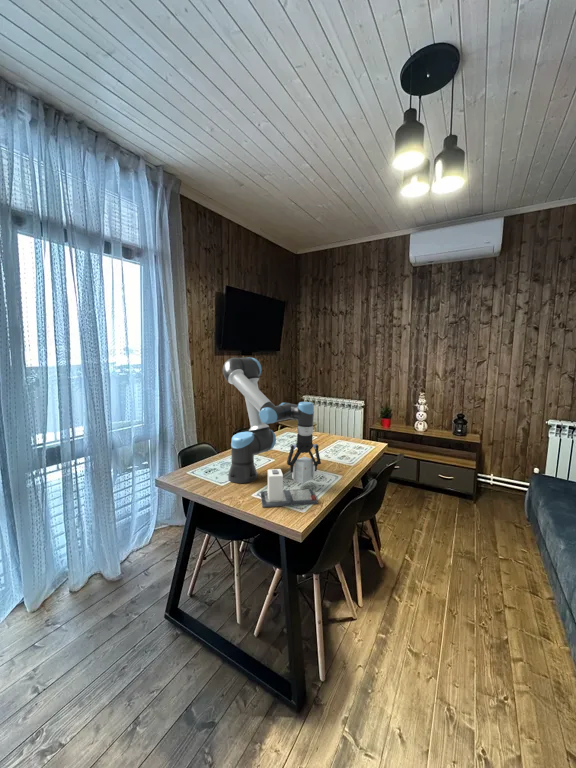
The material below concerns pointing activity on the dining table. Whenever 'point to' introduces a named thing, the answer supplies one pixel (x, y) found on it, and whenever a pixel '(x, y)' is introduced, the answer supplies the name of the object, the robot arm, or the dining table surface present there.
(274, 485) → the twin plug
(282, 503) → the strip board
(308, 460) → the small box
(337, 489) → the dining table surface
